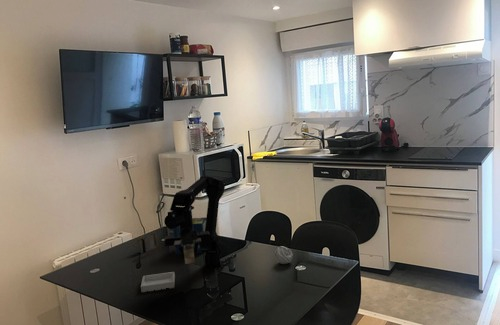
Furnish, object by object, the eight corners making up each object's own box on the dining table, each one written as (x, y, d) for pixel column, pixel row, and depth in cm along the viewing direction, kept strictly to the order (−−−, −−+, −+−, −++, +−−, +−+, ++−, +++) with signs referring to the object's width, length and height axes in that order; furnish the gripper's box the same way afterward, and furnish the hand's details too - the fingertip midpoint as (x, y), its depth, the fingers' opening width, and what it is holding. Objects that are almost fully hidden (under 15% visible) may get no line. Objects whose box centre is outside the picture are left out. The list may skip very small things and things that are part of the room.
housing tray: (174, 277, 185) (174, 271, 185) (174, 287, 174) (173, 281, 174) (143, 281, 183) (143, 275, 183) (141, 292, 172) (140, 286, 172)
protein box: (181, 247, 225) (178, 218, 223) (209, 245, 223) (206, 217, 221) (175, 254, 215) (171, 224, 213) (204, 253, 213) (201, 223, 211)
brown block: (194, 257, 183) (192, 242, 182) (194, 262, 177) (193, 247, 176) (185, 259, 182) (183, 243, 181) (185, 264, 176) (183, 248, 175)
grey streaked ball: (286, 267, 185) (285, 250, 184) (272, 265, 189) (270, 248, 188) (296, 261, 191) (294, 245, 190) (281, 259, 196) (280, 242, 195)
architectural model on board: (143, 254, 220) (141, 236, 219) (139, 253, 222) (137, 235, 220) (158, 247, 230) (156, 229, 228) (154, 246, 231) (152, 229, 230)
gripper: (162, 230, 168) (166, 267, 170) (209, 224, 171) (212, 261, 173) (163, 222, 179) (167, 258, 181) (207, 217, 181) (211, 252, 184)
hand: (189, 258), depth 179 cm, fingers closed on brown block, 4 cm apart
